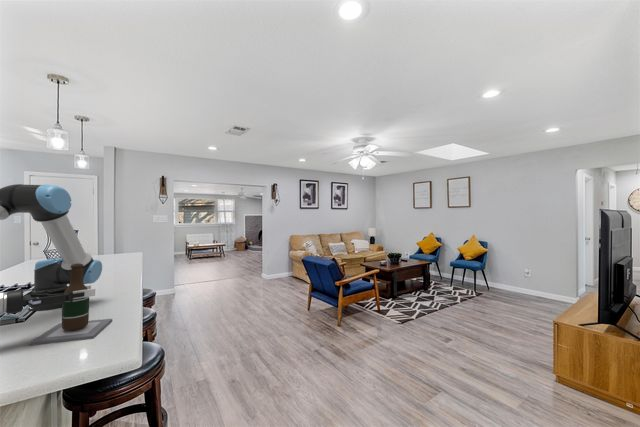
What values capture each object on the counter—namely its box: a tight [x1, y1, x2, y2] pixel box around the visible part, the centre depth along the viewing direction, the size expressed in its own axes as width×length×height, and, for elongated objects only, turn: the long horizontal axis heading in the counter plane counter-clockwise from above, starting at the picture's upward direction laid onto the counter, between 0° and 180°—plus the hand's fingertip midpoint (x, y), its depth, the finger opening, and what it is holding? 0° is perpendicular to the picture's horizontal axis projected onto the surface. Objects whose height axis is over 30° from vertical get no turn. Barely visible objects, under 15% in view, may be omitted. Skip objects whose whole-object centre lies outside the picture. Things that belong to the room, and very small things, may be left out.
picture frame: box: [28, 318, 113, 346], centre depth 106 cm, size 18×18×1 cm
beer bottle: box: [61, 264, 90, 330], centre depth 106 cm, size 8×8×24 cm
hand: (92, 290), depth 110 cm, fingers closed on beer bottle, 7 cm apart
